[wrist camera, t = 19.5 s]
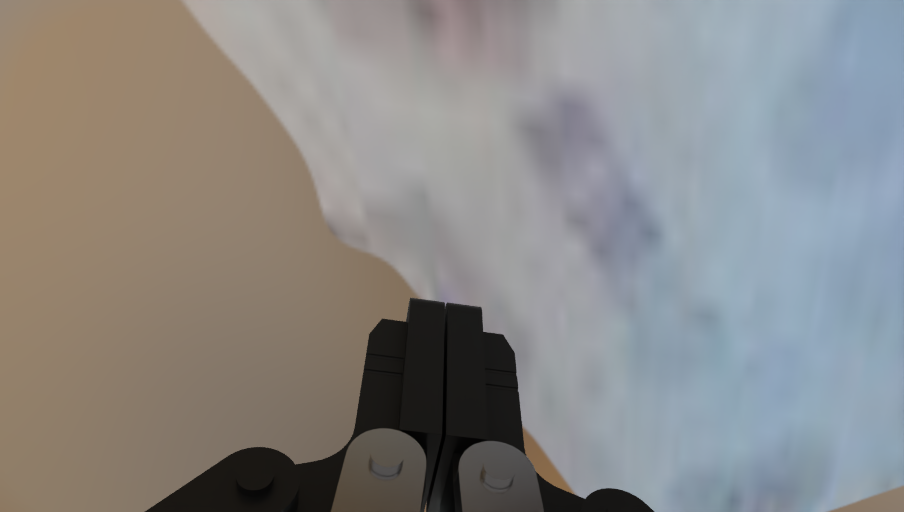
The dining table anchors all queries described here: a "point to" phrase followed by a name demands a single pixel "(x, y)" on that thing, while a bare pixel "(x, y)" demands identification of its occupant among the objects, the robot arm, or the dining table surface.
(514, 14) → the dining table surface
